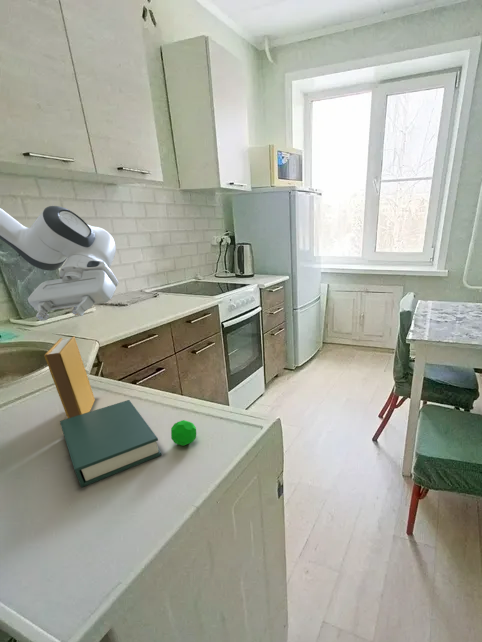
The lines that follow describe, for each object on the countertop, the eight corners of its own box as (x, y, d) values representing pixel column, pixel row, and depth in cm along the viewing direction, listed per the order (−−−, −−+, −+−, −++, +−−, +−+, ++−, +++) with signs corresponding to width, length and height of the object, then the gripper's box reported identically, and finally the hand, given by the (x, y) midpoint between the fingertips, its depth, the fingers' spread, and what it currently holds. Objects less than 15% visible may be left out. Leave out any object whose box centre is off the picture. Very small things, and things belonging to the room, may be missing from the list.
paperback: (82, 401, 90) (60, 338, 82) (95, 399, 90) (74, 336, 83) (70, 425, 79) (44, 355, 72) (84, 423, 80) (60, 353, 73)
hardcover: (65, 436, 75) (59, 421, 73) (133, 414, 82) (129, 399, 81) (81, 487, 61) (74, 469, 59) (161, 455, 68) (157, 437, 66)
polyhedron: (178, 453, 68) (173, 432, 66) (169, 441, 72) (164, 422, 70) (202, 443, 71) (198, 423, 69) (192, 433, 74) (188, 413, 72)
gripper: (36, 272, 87) (8, 311, 79) (109, 260, 83) (88, 300, 75) (54, 292, 92) (30, 330, 84) (124, 281, 88) (106, 321, 80)
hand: (58, 316), depth 80 cm, fingers open, 8 cm apart
